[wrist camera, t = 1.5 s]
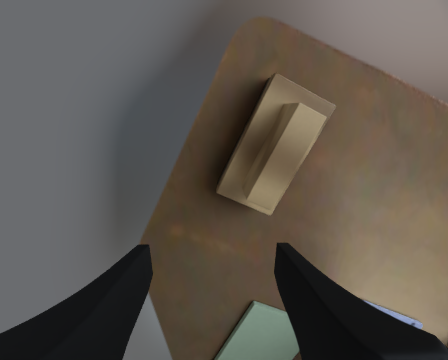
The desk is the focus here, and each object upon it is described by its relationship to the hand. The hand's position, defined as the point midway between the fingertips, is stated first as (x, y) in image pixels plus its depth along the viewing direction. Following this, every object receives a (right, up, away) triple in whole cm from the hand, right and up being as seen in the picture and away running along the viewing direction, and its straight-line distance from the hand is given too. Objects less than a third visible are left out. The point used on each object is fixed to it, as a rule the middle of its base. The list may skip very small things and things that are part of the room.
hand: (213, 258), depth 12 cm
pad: (+5, -17, +16) cm, 24 cm away
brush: (+4, +7, +7) cm, 11 cm away
